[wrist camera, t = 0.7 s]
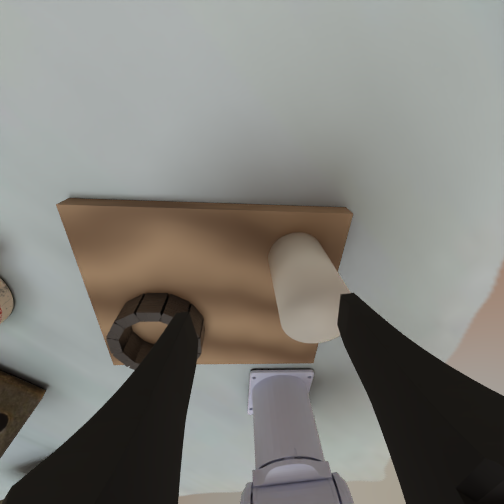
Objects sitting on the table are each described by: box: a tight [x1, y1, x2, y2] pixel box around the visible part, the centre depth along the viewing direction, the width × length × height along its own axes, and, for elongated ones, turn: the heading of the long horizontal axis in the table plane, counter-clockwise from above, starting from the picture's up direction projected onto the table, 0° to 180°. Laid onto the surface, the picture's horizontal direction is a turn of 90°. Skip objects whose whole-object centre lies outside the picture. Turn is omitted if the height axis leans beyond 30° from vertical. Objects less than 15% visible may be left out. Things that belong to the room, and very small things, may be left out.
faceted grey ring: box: [106, 293, 205, 370], centre depth 23 cm, size 8×8×2 cm
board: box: [56, 198, 353, 365], centre depth 23 cm, size 18×22×2 cm
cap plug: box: [268, 232, 350, 343], centre depth 18 cm, size 5×5×7 cm
